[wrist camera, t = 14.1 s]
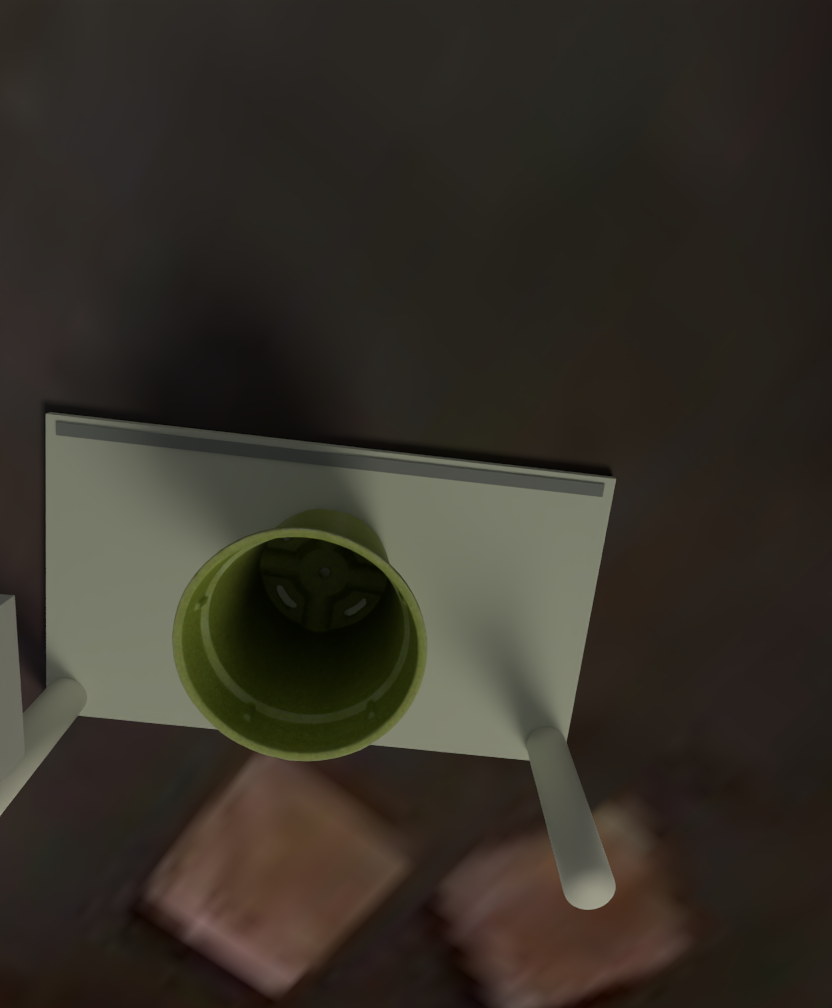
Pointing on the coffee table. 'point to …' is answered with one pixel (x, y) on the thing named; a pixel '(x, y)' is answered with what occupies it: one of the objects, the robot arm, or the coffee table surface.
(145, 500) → the mat
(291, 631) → the plant pot
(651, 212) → the coffee table surface
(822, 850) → the coffee table surface
